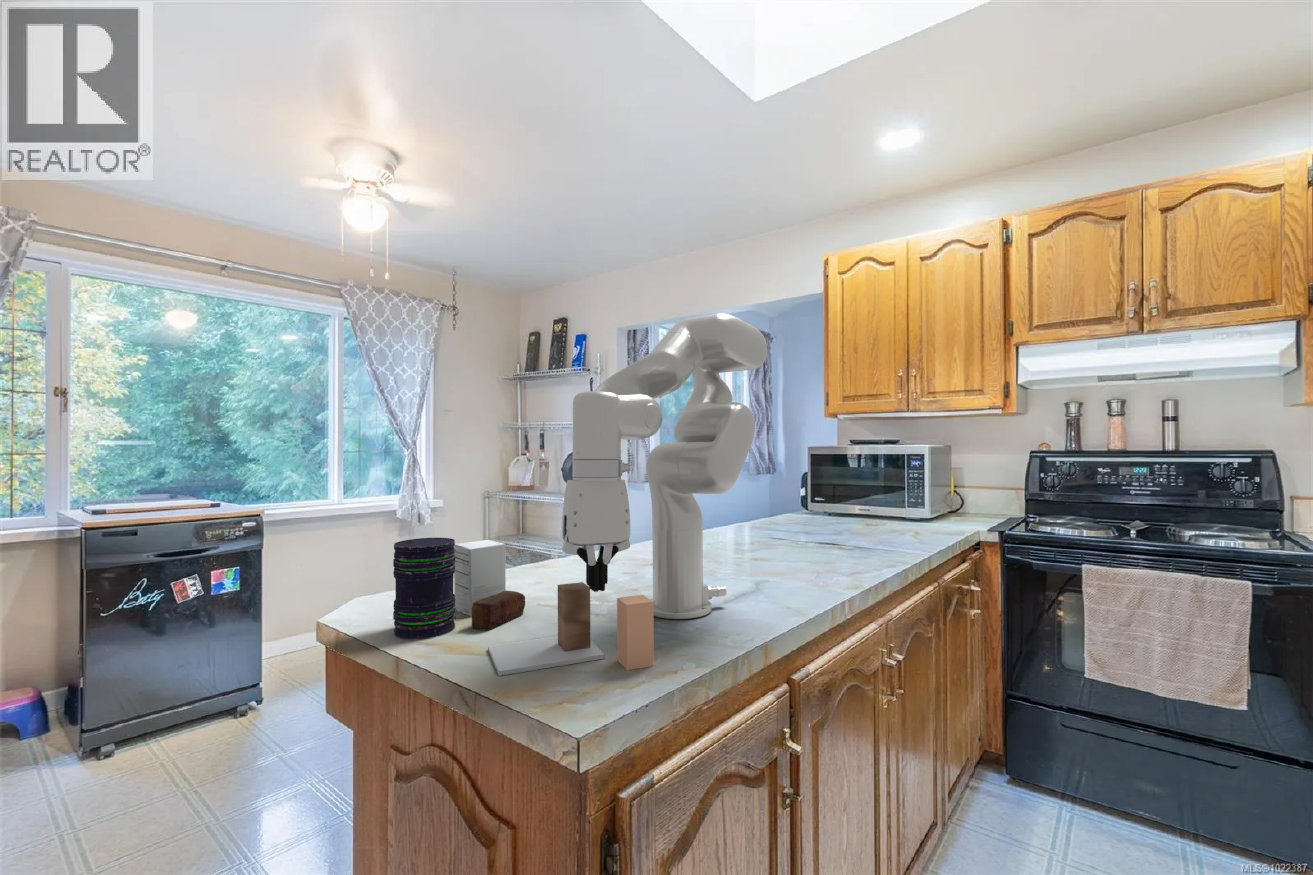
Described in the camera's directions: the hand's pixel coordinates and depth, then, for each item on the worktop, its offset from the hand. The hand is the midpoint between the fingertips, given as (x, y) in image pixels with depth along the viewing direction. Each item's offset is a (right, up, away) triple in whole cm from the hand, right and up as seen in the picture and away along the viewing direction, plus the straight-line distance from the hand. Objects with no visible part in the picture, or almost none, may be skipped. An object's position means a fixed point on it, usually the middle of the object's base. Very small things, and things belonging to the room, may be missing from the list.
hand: (596, 589), depth 89 cm
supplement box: (-25, -10, +21) cm, 34 cm away
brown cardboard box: (-3, -8, -1) cm, 9 cm away
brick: (-19, -10, +13) cm, 25 cm away
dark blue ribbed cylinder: (-30, -9, +9) cm, 33 cm away
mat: (-7, -9, -3) cm, 12 cm away
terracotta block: (+6, -9, -7) cm, 13 cm away
